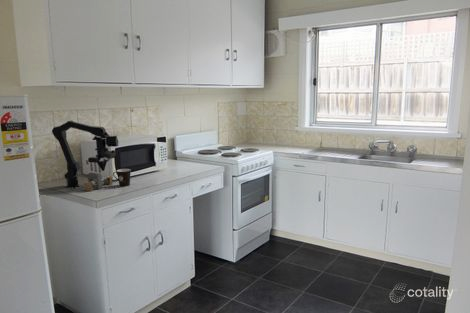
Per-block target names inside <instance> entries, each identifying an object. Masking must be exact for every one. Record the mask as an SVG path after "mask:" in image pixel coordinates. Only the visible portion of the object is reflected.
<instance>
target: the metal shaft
mask: <svg viewBox="0 0 470 313" xmlns="http://www.w3.org/2000/svg"><path fill="white" fill-rule="evenodd" d="M102 183H103V184H104V185H107V184H108V186H111V185H113V175H112V176H110V175H104V176H103V177H102ZM83 185H84V187H83V188H84V191H85V190H86V191H85V192H93V191H94V189H93V185H97V183H96V179H94V180H93V181H91V182H88V181H84V183H83Z"/></svg>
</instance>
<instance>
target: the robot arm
mask: <svg viewBox="0 0 470 313" xmlns="http://www.w3.org/2000/svg"><path fill="white" fill-rule="evenodd" d="M71 128H72V129H75V130H80V131H83V132H87V133H90V134H91V135H93V136H94V137H93V138H92V139H91V140H92V141H95V144H96V145H95V146H96V147H95V149H94V151H96V154H95V156H90V157H88V159H87V161H88V163H96V164H97V165H98V166H99V168H100V170H101V171H102V172H105V170H106V165H107V163H108V162H109V161H110V160H111V159H115V158H116V154H117V152H116V150H114V149H113V150H109V149H108V147H110V148H111V147H112V148H113V147H119V139H118V135H109V134H108V132H107V130H106V129H105V127H103V126H98V125H96V126H94V125H89V124H85V123H81V122H76V121H73V120H68V121H66V122H64V123H63V124H61V125H58V126H54V127H53V128H52V130H51V133H52V135H53V137H54V138H55V139H56V140H57V141H58V143H59V145H60V149H61V151H62V153H63V155H64V159H65V161H66V170H67V171H66V173H65V174H64V176H63V177H64V178H65V179H66V180H65V181H66V185H65V186H64V188H70V187H73V188H76V187H79V185H80V184H79V179H78V176H79V173H81V170H82V169H81V168H82V166H81V164H80V161H76V160H75V157H74V155H73V153H72V150H71V148H70V145H69V142H68V140H67V139H68V138H67V131H68V130H70V129H71Z"/></svg>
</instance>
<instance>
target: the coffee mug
mask: <svg viewBox="0 0 470 313" xmlns="http://www.w3.org/2000/svg"><path fill="white" fill-rule="evenodd" d="M115 173H116V175H117V176H115ZM131 173H132V172H131V168H130V169H129V168H120V169H117V170H116V171H114V172H113V173H112V177H114V178H115V179H116V180H117V181H118V184H119V187H122V188H123V187H125V186H126V187H129V186H130V185H131Z"/></svg>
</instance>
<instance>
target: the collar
mask: <svg viewBox="0 0 470 313" xmlns="http://www.w3.org/2000/svg"><path fill="white" fill-rule="evenodd" d="M102 178H103V177H102V173H100V172H99V173H98V172H89V173H87V182H91V181H93V180H96V183H97V184H95V185H93V190H100V189H103V182H102Z"/></svg>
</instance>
